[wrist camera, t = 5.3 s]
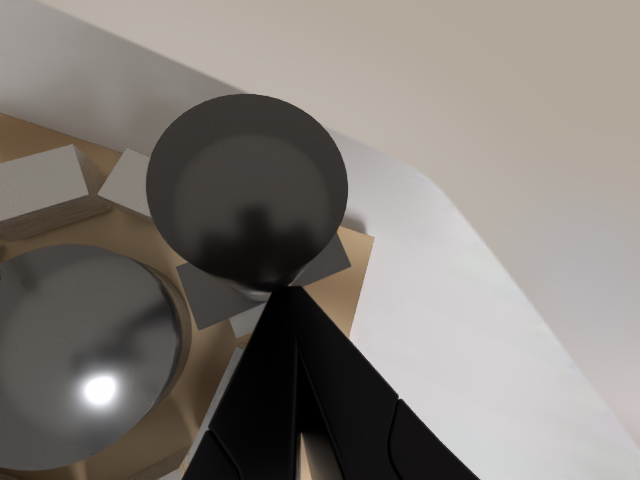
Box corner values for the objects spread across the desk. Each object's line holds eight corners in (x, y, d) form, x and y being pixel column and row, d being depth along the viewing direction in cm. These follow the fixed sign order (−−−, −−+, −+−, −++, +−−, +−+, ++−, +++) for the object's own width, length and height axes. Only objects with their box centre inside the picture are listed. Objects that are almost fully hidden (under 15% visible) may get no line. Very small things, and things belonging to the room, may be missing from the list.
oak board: (273, 604, 13) (273, 634, 12) (-234, 490, 12) (-294, 512, 10) (369, 238, 17) (377, 232, 16) (2, 116, 16) (-21, 98, 14)
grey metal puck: (152, 454, 13) (119, 496, 10) (-31, 407, 12) (-123, 437, 9) (216, 285, 15) (203, 278, 12) (58, 236, 14) (4, 217, 11)
